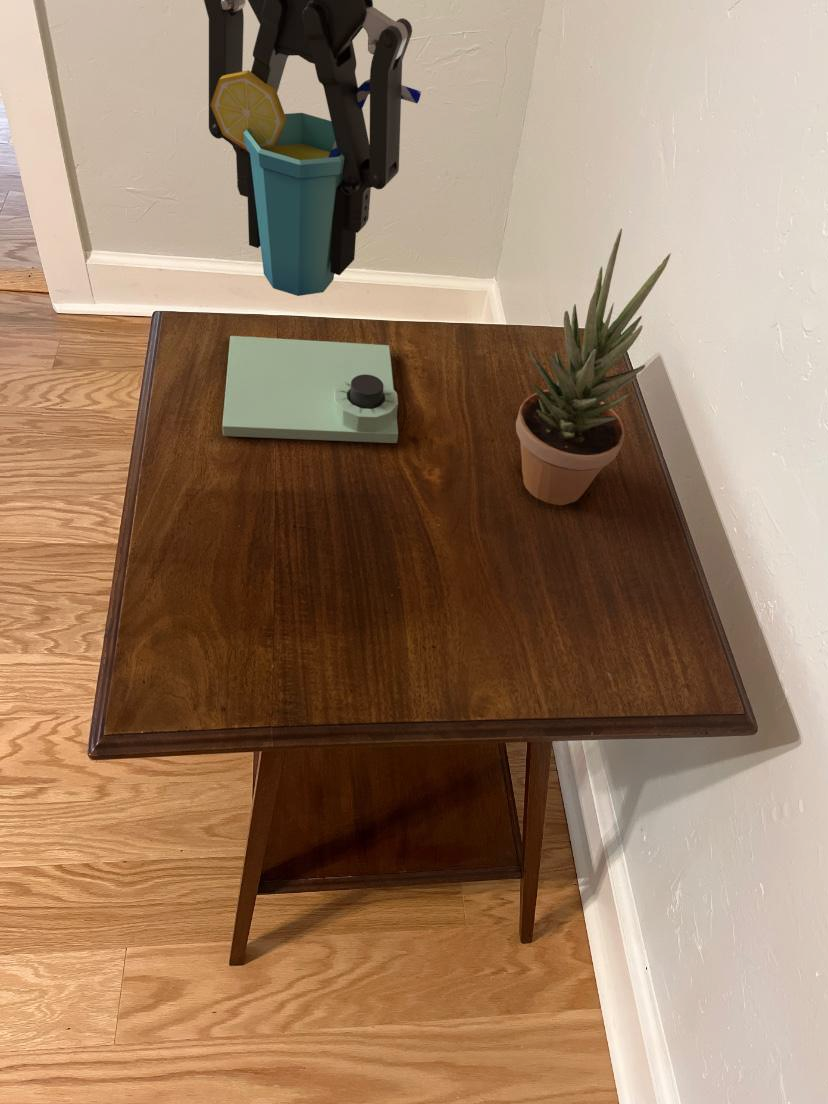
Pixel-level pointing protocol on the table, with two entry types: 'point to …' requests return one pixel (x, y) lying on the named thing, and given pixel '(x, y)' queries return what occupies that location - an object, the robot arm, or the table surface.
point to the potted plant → (580, 399)
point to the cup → (288, 177)
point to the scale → (306, 390)
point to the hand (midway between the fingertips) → (301, 251)
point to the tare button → (366, 391)
